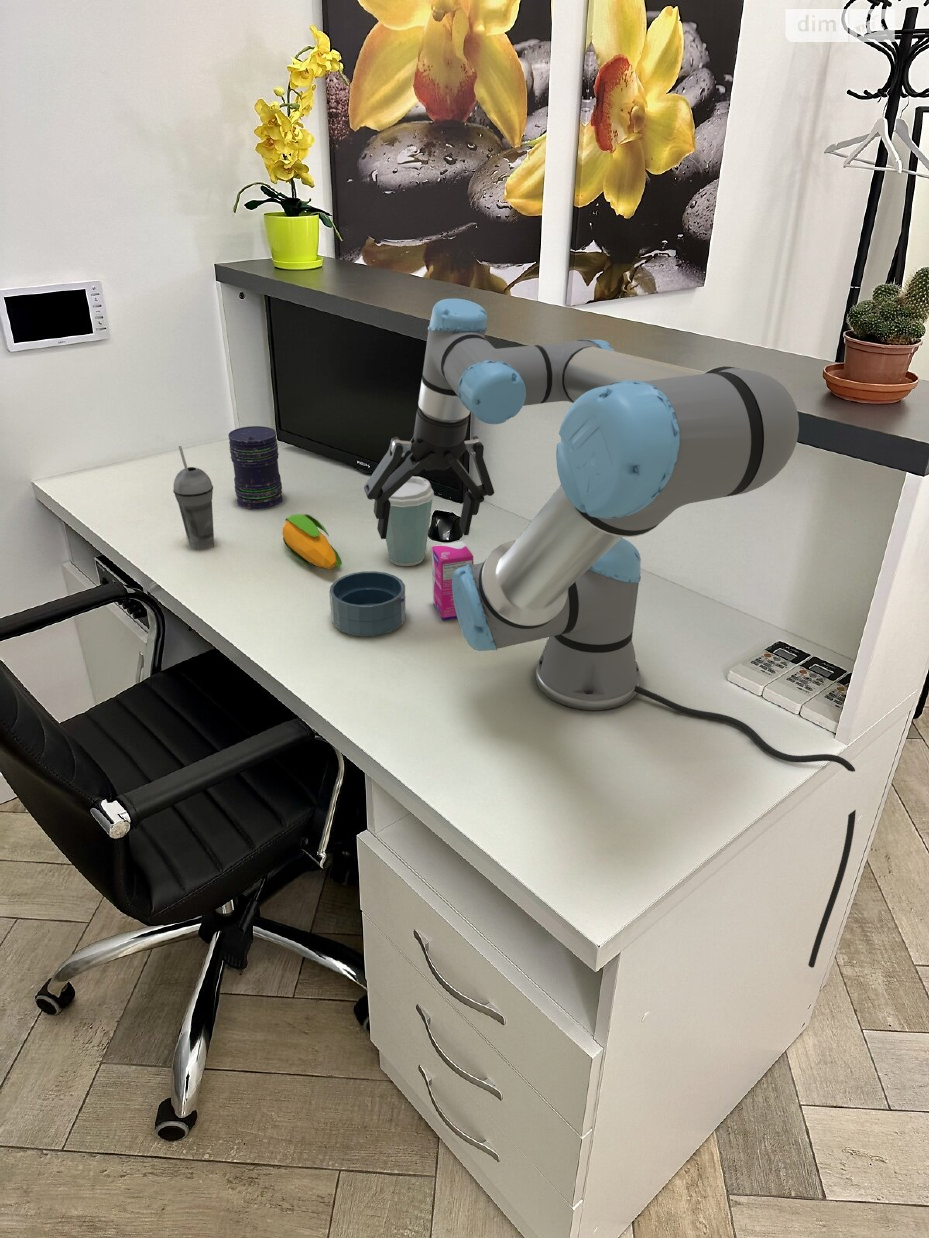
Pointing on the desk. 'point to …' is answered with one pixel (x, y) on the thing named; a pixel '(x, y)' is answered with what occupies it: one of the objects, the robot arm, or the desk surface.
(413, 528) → the disposable coffee cup
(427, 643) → the desk surface
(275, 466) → the storage jar
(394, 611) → the bowl
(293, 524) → the corn
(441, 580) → the supplement box
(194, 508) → the beverage cup
